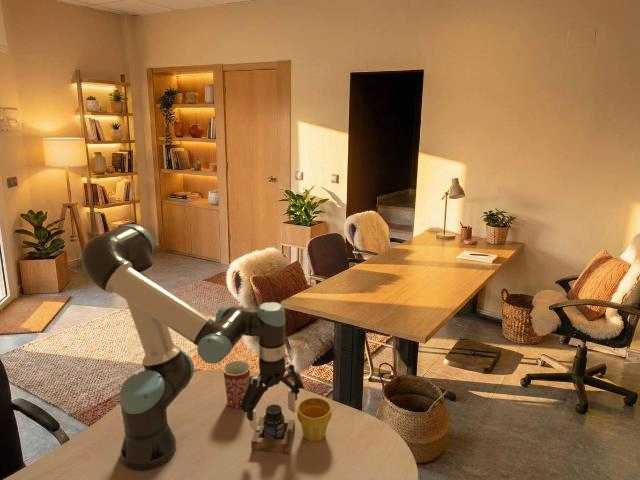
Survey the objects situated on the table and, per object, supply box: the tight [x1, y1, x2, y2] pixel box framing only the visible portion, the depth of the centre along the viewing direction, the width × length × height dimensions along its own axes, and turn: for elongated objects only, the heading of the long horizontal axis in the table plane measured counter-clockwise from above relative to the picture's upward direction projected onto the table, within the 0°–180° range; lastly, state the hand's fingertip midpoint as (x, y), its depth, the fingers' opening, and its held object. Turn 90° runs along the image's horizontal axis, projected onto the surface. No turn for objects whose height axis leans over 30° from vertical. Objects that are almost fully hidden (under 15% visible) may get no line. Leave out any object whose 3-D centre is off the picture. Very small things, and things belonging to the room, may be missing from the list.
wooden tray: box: [250, 416, 296, 455], centre depth 147 cm, size 11×11×4 cm
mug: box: [222, 360, 252, 410], centre depth 165 cm, size 13×9×14 cm
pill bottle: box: [263, 404, 286, 440], centre depth 146 cm, size 6×6×11 cm
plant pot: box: [296, 396, 333, 442], centre depth 148 cm, size 10×10×10 cm
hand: (272, 418), depth 145 cm, fingers open, 13 cm apart
